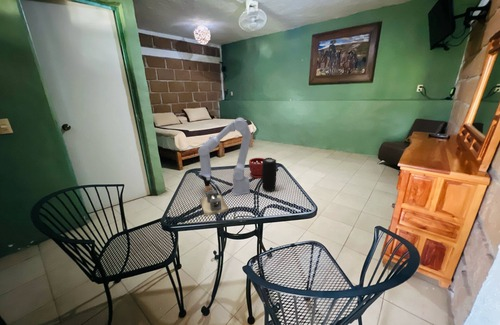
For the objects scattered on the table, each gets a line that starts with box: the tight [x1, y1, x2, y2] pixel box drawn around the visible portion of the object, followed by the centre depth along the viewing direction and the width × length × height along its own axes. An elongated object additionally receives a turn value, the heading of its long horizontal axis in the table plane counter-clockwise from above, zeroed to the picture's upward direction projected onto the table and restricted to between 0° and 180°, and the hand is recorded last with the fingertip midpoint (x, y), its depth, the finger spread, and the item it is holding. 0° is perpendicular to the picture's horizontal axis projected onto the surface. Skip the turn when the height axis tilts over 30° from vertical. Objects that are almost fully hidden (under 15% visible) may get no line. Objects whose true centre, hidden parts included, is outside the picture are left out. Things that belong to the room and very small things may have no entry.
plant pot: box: [248, 157, 265, 179], centre depth 145 cm, size 13×13×12 cm
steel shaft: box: [204, 185, 217, 204], centre depth 110 cm, size 4×18×4 cm, turn 22°
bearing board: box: [199, 189, 229, 217], centre depth 107 cm, size 12×16×7 cm
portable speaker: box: [261, 157, 277, 193], centre depth 123 cm, size 9×9×20 cm
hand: (207, 186), depth 121 cm, fingers closed
